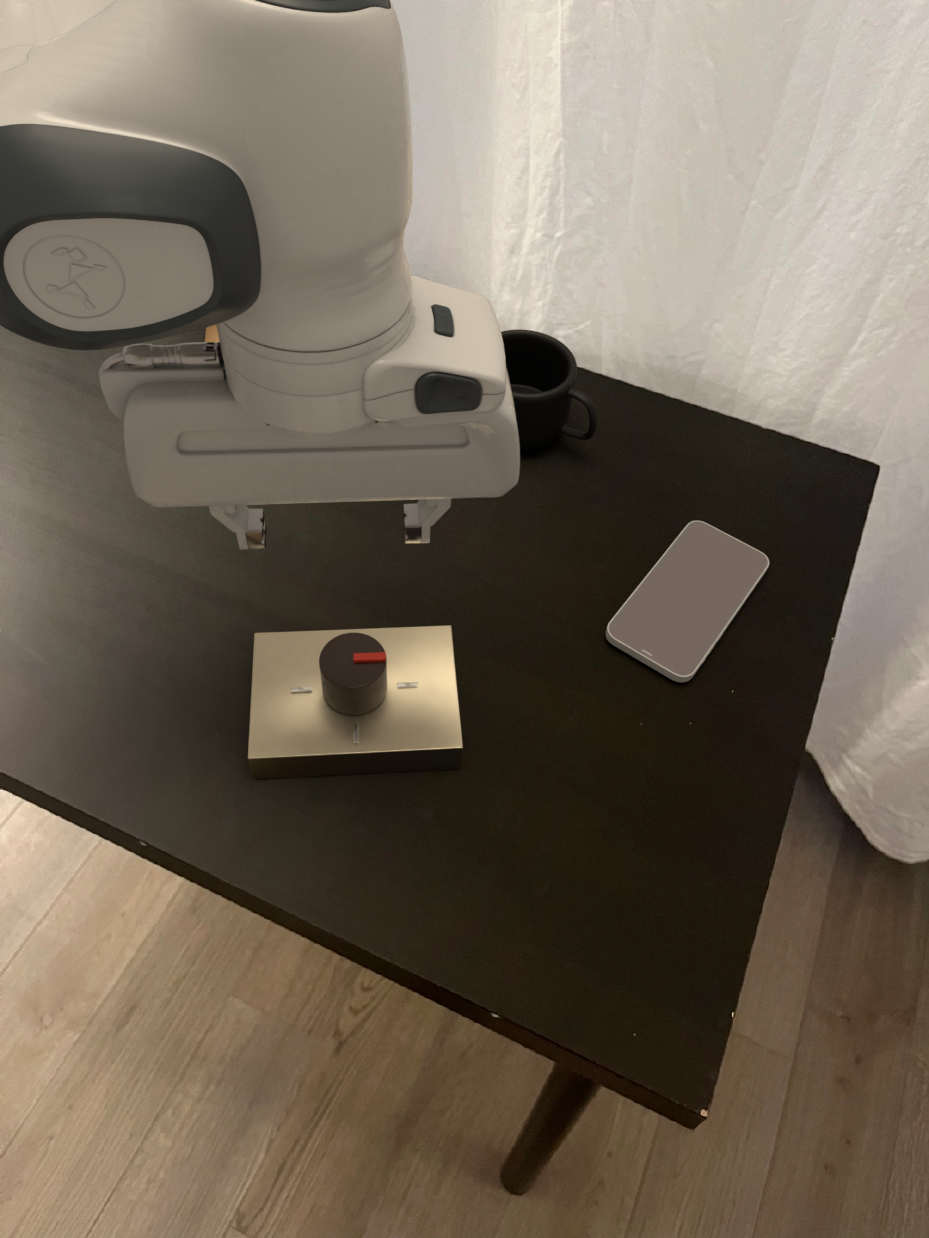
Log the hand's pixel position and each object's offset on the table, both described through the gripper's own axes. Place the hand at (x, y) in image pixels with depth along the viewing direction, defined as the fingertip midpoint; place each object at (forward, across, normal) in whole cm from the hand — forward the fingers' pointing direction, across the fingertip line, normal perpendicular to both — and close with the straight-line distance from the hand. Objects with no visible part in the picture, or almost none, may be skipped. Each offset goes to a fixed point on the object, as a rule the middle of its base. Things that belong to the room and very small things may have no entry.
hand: (335, 538), depth 56 cm
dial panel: (+16, 0, -2) cm, 16 cm away
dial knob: (+13, +1, -2) cm, 13 cm away
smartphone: (+16, +26, +6) cm, 32 cm away
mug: (+16, +16, +26) cm, 35 cm away
